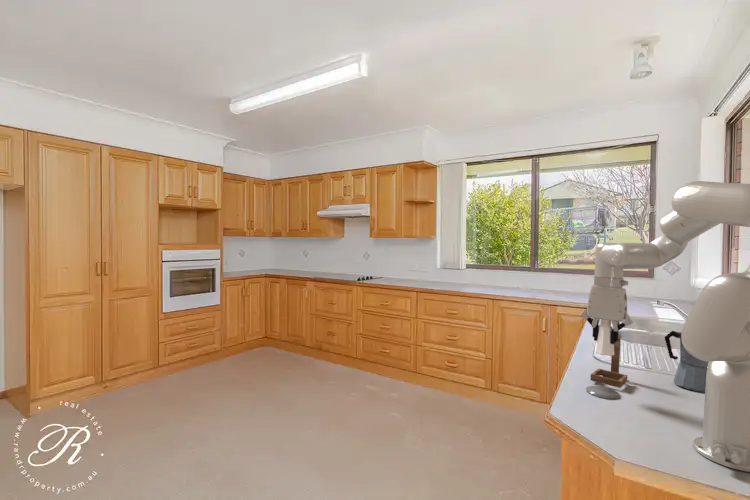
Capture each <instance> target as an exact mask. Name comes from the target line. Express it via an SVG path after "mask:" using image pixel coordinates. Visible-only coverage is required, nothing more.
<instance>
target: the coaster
mask: <svg viewBox="0 0 750 500" xmlns="http://www.w3.org/2000/svg"><path fill="white" fill-rule="evenodd" d="M585 391H586V392H587V393H588V395H591V396H594V397H596V398H600V399H605V400H617V399H620V398H621V396H620V394H621V393H619V392H618V391H616V390H614V389H611V388H608V387H604V386H599V385H589V386H586V388H585Z"/></svg>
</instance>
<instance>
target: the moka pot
mask: <svg viewBox="0 0 750 500" xmlns="http://www.w3.org/2000/svg"><path fill="white" fill-rule="evenodd" d="M681 333H682V331H674V330H671V331H670V332H669V333H667V334H666V335H665V336H664V341H665V344H666V347H667V348H666V349H667V353H668V356H669V358H670V359H672V360H678V359H679V363H678V365H677V368H676V372H675V374H674V378H673V383H674V384H675V385H676V386H678V387H681V388H684V389H687V390H690V391H694V392H695V391H696V392H702V393H705V386H706V374H707V369H708V365H709V362H708V361H702V360H699V359H697V358H695V357H693V356H692V355H690V354H689V353H688V352H687V351H686V349H685V348H684V346H683V343H682V339H681ZM671 337H674V338H676V339H679V342H680V343H679V345H680V346H679V347H680V348H679V349H680V351H679V353H680V354H679V355H680V356H675V355H674V353H673V351H672V344H671V340H670V338H671ZM679 357H680V358H679Z"/></svg>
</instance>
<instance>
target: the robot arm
mask: <svg viewBox="0 0 750 500" xmlns="http://www.w3.org/2000/svg"><path fill="white" fill-rule="evenodd" d="M671 206H672V209H671V210H670V211H668V212H667V213H665V214H663V216H661V218H660V219H659V224H658V225H659V228H660V231H661V232H662V235H660V236H659V237H657V238H655V239H654V240H652V241H650V242H647V243H645V242H621V243H617V242H600V243H597V245H596V247H595V260H594V261H595V262H594V277H593V278H594V279H593V285H591V287H590V291H589V295H588V299H587V300H588V301H587V306H586V309H584V311H582V313H581V317H582V318H584V320H586V321H587V322H588V323H589V324H590V325H591V326H590V327H591V328H592V338H593V341H595V342H596V341H597V337H598V329H599V325H600V321H601V319H604V320H610V321H611V324H612V327H613V331H611V344H615V343H616V341H618V333H619V334H620V330H622V329H623V328H625V327H628V326H631V325H633V323H634V321H633V320H632V318H631V316H630V315H629V314H628V296H627V290H626V288H624V287H625V286H628V285H629V281H628V280H625V279H624V270H651V269H656V268H659V267H661V266H663V265H665V264H667V263H668V262H670V261H673V260H674V259H676V258H678V257H679V256H680V255H681V254H682V253H683V252H684V251H685V249H686V248H687V246H688V244H689V242H690V241H692V240H694V239H696V238H697V237H699V236H701V235H702V234H705V232H708V231H709V230H711V229H713V228H714V227H716V226H718V225H720V224H723V225H724V224H725V225H730V226H736V227H743V228H744V227H745V228H750V183H742V182H741V183H740V182H739V183H737V182H735V183H733V182H719V181H717V182H716V181H706V180H705V181H704V180H696V181H691V182H688V183H684V185H681V187H680V188H678V189H677V190H676V191H675V192H674V194H673V196H672V199H671ZM622 321H623V322H622ZM620 322H621V323H620ZM681 332H682V333H681V339H682V343H683V346H684V348H685V349H686V351H687V352H688V353H689V354H690V355H692V356H693V357H695V358H697V359H699V360H702V361H708V362H709V363H708V366H707V368H708V369H707V374H706V386H705V392H704V404H703V405H704V406H703V407H704V408H703V420H702V436H697V437H696V438H693V440H692V441H693V442H692V446H693V448H694V449H695V450H696V452H697V453H699V454H700V455H701V456H703V457H705V458H707V460H710V461H712V462H714V463H717V464H719V465H721V466H724V467H727V468H729V469H733V470H738V471H741V472H747V473H750V264H749V265H748V267H747V268H746V269H745V270H744V271H742V272H727V273H723V274H720V275H717V276H715V277H714V278H711V280H709V281H708V282H707V283H706V284H705V285H704V286H703V288H702V290H701V292H700V293H699V295H698V297H697V299H696V301H695V303H694V304H693V306H692V308H691V310H690V312H689V314H688V315H687V318H686V319H685V321H684V324H683V326H682V328H681Z"/></svg>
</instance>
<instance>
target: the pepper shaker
mask: <svg viewBox="0 0 750 500" xmlns="http://www.w3.org/2000/svg"><path fill="white" fill-rule="evenodd" d="M600 321H601V323H600V324H598V325H599V329H598V337H597V341H595V347H594V352H595V354H599V355H602V356H610V357H612V355H614V344H611V331H613V325H611V324H612V321H610V320H604V319H600Z"/></svg>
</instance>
